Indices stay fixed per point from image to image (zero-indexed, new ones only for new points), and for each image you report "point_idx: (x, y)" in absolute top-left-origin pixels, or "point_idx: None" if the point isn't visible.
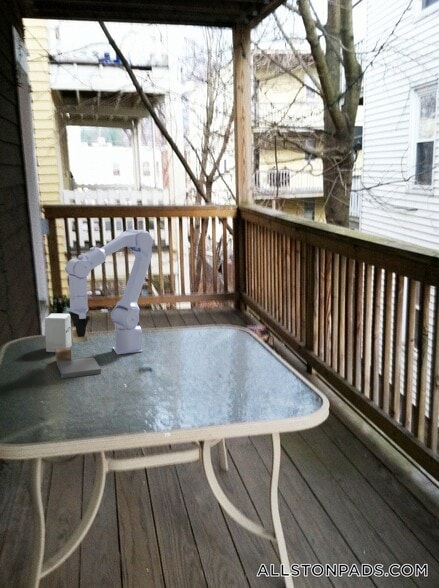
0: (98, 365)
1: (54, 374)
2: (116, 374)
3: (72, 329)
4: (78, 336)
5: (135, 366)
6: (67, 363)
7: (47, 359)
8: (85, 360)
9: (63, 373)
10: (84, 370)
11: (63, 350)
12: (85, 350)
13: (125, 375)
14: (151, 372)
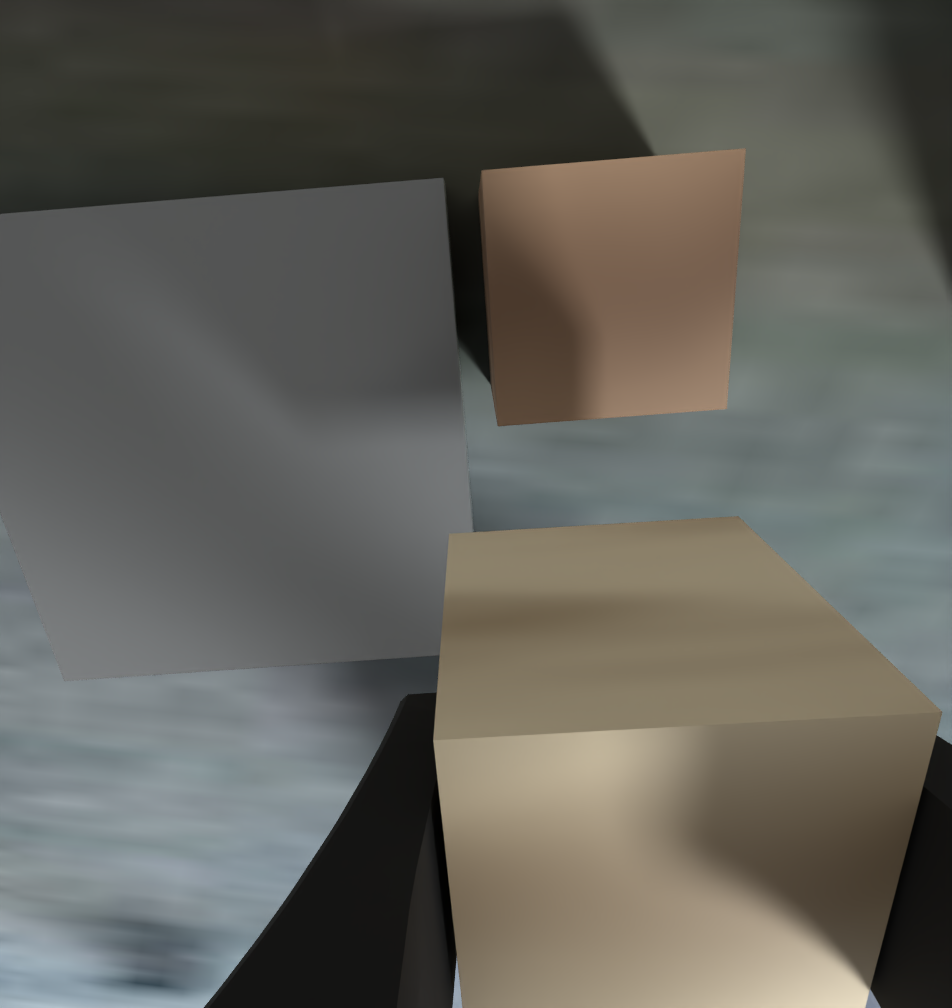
0: (183, 671)
1: (105, 123)
2: (54, 765)
3: (627, 698)
4: (398, 709)
5: (248, 912)
6: (324, 330)
7: (792, 43)
8: (390, 559)
9: None
10: (19, 516)
11: (575, 300)
12: (916, 579)
13: (23, 823)
14: (85, 980)
